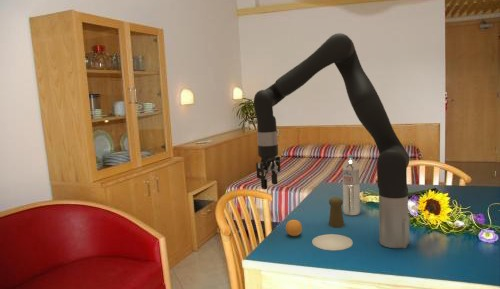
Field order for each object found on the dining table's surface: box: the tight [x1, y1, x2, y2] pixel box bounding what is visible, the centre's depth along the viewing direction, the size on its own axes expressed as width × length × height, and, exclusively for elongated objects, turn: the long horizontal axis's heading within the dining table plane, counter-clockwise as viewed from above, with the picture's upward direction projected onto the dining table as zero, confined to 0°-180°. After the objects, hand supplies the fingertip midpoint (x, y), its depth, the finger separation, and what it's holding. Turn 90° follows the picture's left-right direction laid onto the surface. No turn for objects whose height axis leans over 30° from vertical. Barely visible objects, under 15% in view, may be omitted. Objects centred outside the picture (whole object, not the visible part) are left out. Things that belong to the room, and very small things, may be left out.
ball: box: [285, 219, 303, 237], centre depth 149 cm, size 6×6×6 cm
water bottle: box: [341, 154, 361, 217], centre depth 168 cm, size 7×7×25 cm
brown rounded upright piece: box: [328, 196, 345, 228], centre depth 158 cm, size 6×6×11 cm
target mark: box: [311, 233, 354, 252], centre depth 142 cm, size 14×14×1 cm
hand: (269, 186), depth 152 cm, fingers open, 7 cm apart
